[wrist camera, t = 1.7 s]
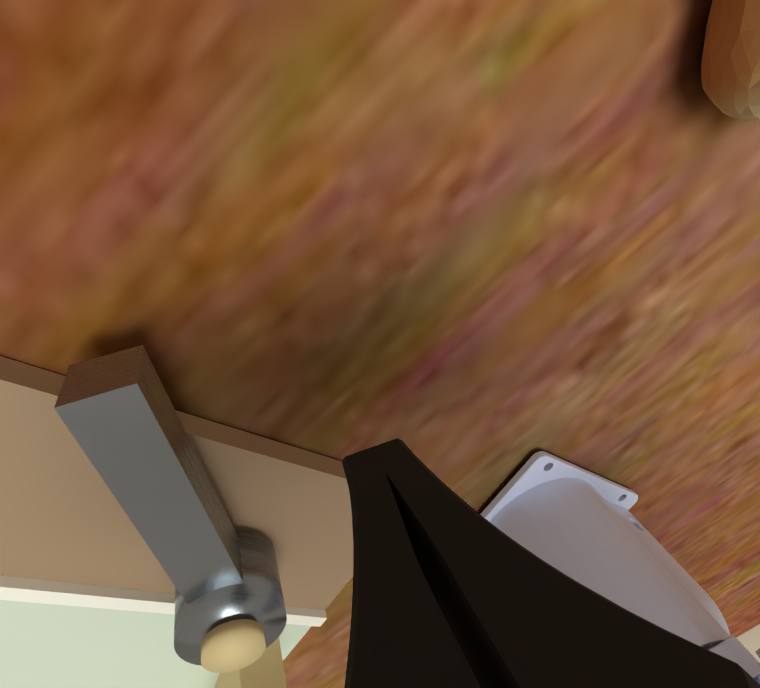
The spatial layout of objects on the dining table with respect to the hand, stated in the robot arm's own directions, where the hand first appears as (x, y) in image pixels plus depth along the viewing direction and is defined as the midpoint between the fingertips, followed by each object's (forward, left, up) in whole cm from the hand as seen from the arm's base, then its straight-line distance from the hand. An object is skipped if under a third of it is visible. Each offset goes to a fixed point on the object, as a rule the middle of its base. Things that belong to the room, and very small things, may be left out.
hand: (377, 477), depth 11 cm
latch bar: (+1, +6, -5) cm, 8 cm away
